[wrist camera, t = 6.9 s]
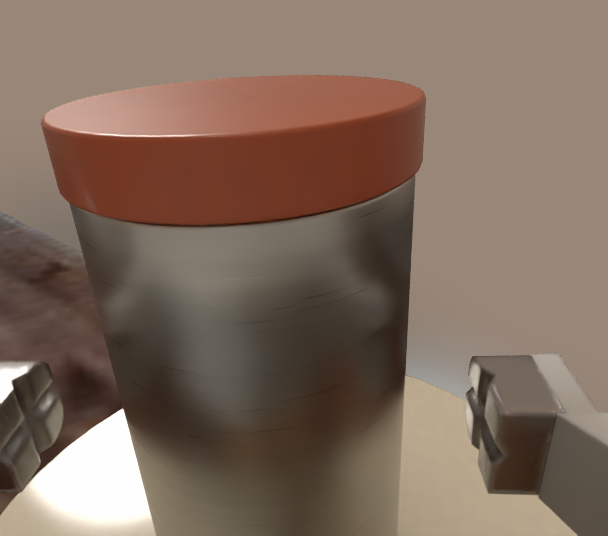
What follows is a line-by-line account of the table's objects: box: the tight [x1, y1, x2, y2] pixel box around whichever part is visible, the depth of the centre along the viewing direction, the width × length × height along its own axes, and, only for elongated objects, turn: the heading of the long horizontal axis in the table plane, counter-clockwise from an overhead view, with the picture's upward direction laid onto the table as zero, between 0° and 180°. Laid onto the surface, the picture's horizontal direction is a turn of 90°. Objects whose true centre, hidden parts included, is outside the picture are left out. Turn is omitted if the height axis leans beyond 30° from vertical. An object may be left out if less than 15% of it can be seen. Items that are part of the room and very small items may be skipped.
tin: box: [41, 75, 426, 536], centre depth 11 cm, size 6×6×12 cm
